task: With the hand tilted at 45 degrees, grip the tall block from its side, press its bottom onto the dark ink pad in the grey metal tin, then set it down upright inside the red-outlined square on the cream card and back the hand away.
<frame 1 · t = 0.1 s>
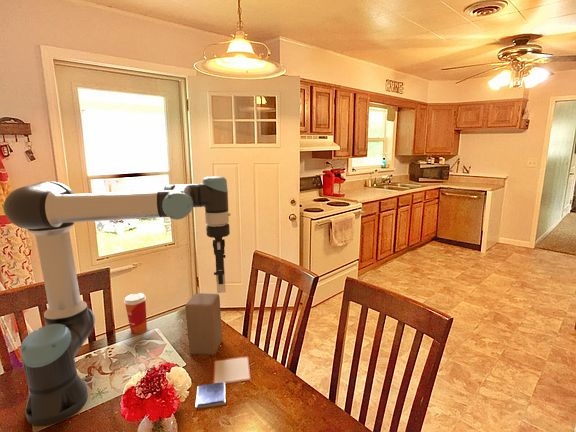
hand: (221, 283, 115), 28 cm above the table, tool pointing down, fingers open, 13 cm apart
grapes: (161, 404, 99), on the table
ink pad: (211, 396, 102), on the table
block: (206, 347, 126), on the table
print card: (231, 370, 113), on the table
coffee cup: (139, 330, 138), on the table
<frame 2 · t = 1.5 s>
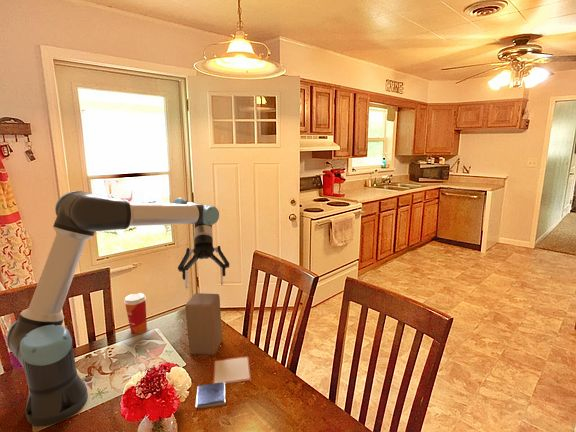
hand: (204, 285, 132), 20 cm above the table, tool tilted 45°, fingers open, 13 cm apart
nothing on the table moved.
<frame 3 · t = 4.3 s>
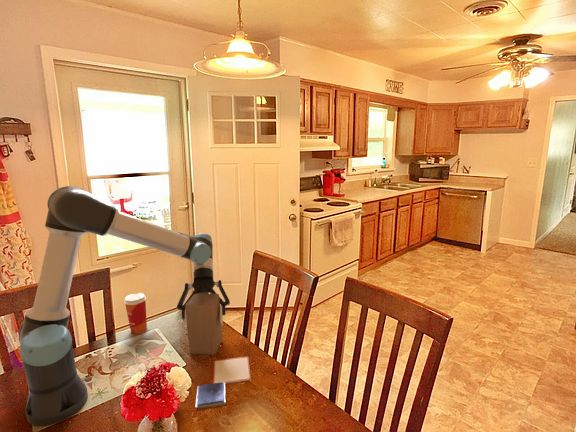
hand: (204, 326, 121), 10 cm above the table, tool tilted 45°, fingers closed on block, 12 cm apart
block: (206, 347, 126), on the table, touching gripper
everything else where it was.
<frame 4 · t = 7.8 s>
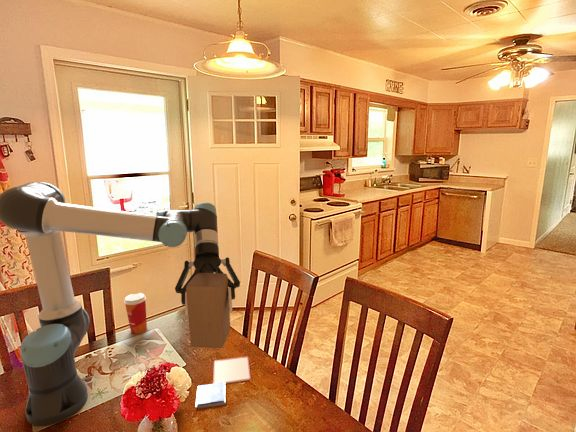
hand: (209, 312, 98), 27 cm above the table, tool tilted 45°, fingers closed on block, 12 cm apart
block: (211, 339, 103), point 16 cm above the table, touching gripper
everything else where it was.
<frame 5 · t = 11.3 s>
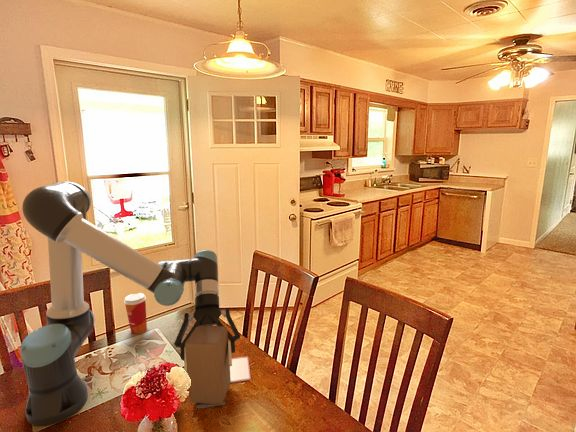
hand: (208, 368, 97), 12 cm above the table, tool tilted 45°, fingers closed on block, 12 cm apart
block: (211, 393, 102), point 1 cm above the table, touching gripper, ink pad
everything else where it was.
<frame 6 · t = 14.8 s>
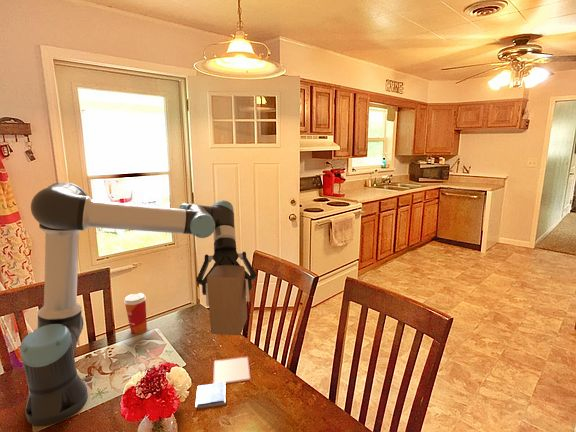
hand: (228, 302, 105), 26 cm above the table, tool tilted 45°, fingers closed on block, 12 cm apart
block: (229, 327, 110), point 16 cm above the table, touching gripper
everything else where it was.
when the fingers open (12 cm above the table, at t = 18.3 s): block drops 1 cm, resting on print card.
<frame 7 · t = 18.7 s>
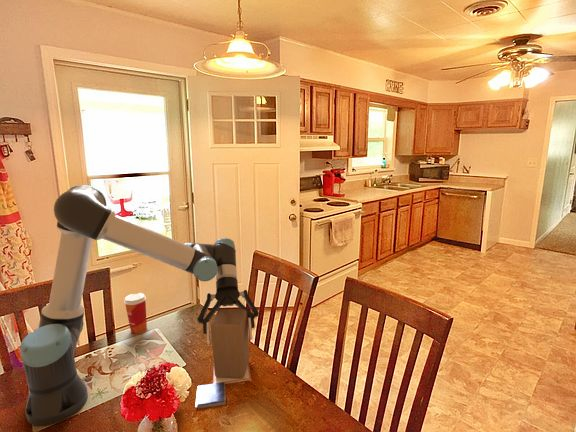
hand: (229, 341, 108), 12 cm above the table, tool tilted 45°, fingers open, 13 cm apart
block: (232, 369, 114), resting on print card
everything else where it was.
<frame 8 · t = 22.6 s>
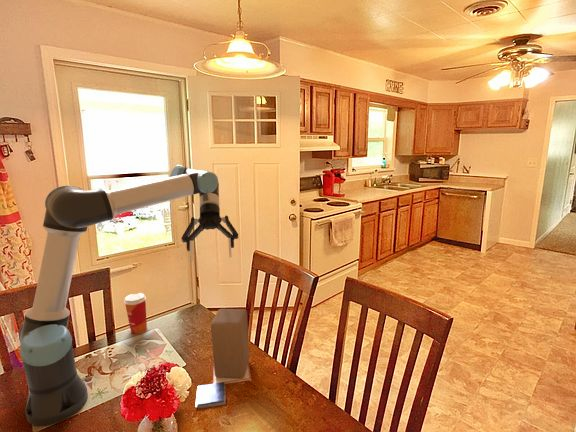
hand: (211, 257, 119), 36 cm above the table, tool tilted 45°, fingers open, 13 cm apart
nothing on the table moved.
at the end: block 0.4 cm off-centre on the print card, point 0.2 cm above the print card's base; block tilted 1°; the gripper is holding nothing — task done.
